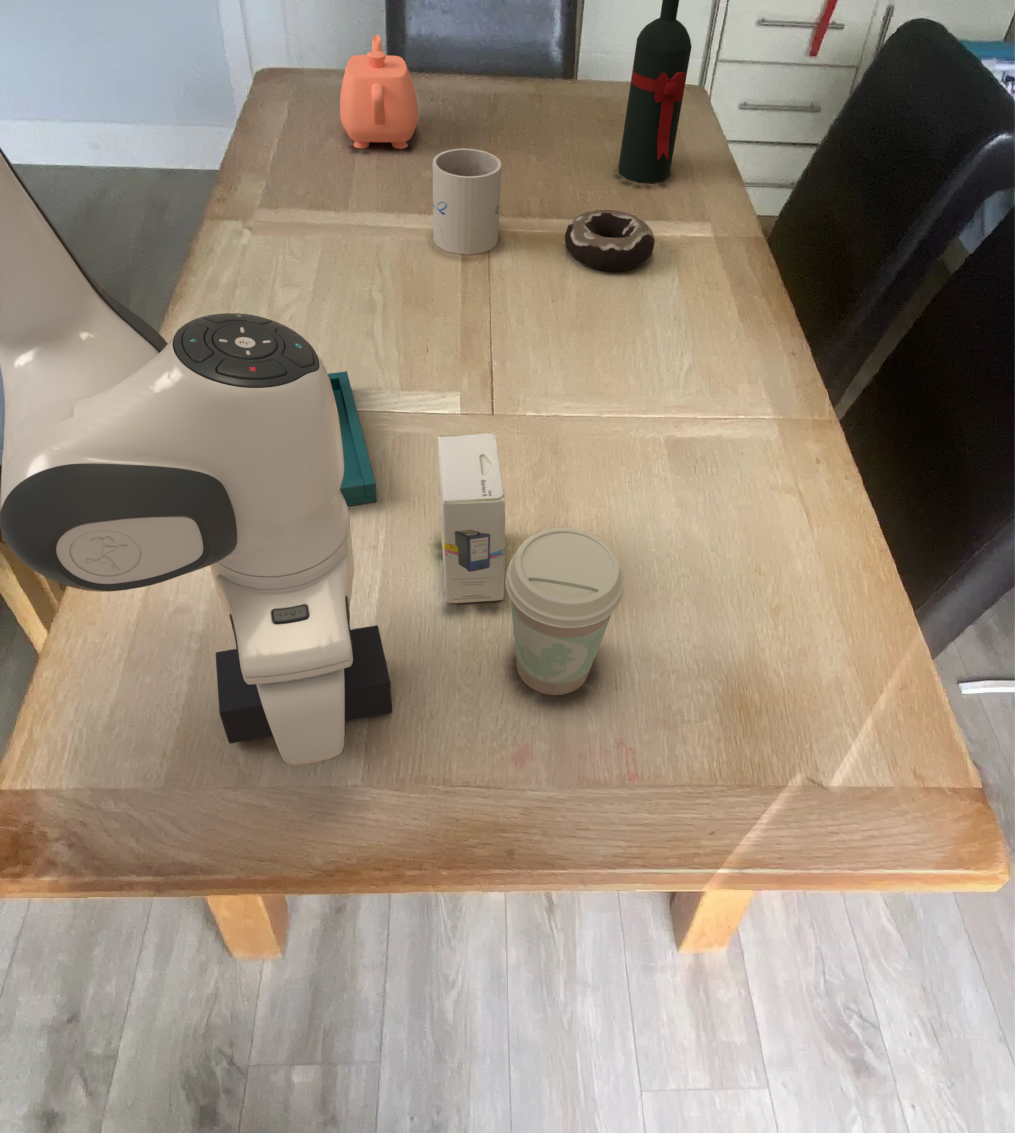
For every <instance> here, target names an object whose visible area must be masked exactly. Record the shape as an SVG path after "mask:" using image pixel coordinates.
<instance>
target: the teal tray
mask: <svg viewBox="0 0 1015 1133" xmlns="http://www.w3.org/2000/svg"><path fill="white" fill-rule="evenodd" d="M328 376H329V379H330V382H331V386H332V390H333V393H334V397H335V402H336V407H337V412H338V417H339V423H340V430H341V437H342V446H343V455H344V476H343V480H342V484H341V487H340V491H341V493H342V495H343V497H344V499H345V501H346V504H347V507H350V506H354V505H363V504H368V503H376V502H377V501H378V500H377V498H378V497H377V486H376V480H375V476H374V473H373V468H372V464H371V460H370V457H369V453H368V448H367V444H366V440H365V436H364V433H363V432H364V431H363V429H362V426H361V425H362V424H361V421H360V418H359V413H358V409H357V405H356V402H355V398H354V393H353V390H352V386H351V381H350V378H349V374H348V371H346V370H345V371H338V372H330V373H328Z"/></svg>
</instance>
